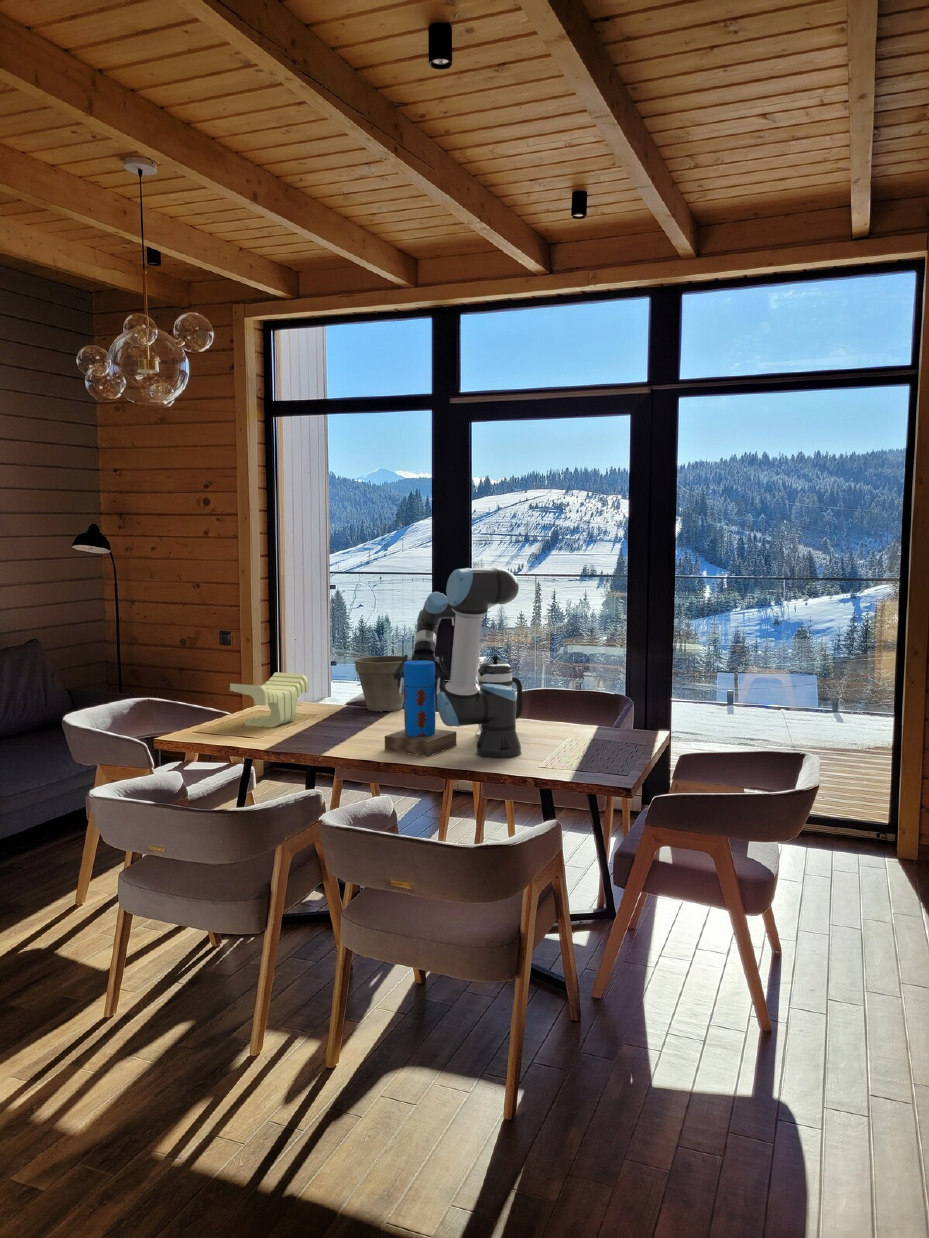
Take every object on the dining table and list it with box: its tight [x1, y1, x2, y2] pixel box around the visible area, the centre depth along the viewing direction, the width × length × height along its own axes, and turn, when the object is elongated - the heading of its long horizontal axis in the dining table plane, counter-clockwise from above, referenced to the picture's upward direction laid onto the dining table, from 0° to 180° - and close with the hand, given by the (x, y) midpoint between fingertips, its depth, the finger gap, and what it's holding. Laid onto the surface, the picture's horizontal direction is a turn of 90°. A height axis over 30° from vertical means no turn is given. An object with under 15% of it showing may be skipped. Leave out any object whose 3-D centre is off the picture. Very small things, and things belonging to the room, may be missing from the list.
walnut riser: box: [384, 728, 457, 757], centre depth 317 cm, size 18×18×5 cm
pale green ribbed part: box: [229, 672, 310, 728], centre depth 360 cm, size 30×16×18 cm, turn 157°
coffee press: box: [475, 654, 523, 737], centre depth 335 cm, size 17×16×30 cm
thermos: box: [403, 660, 436, 737], centre depth 316 cm, size 11×11×25 cm
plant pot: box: [354, 655, 412, 713], centre depth 388 cm, size 25×25×22 cm
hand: (419, 695), depth 313 cm, fingers open, 12 cm apart
